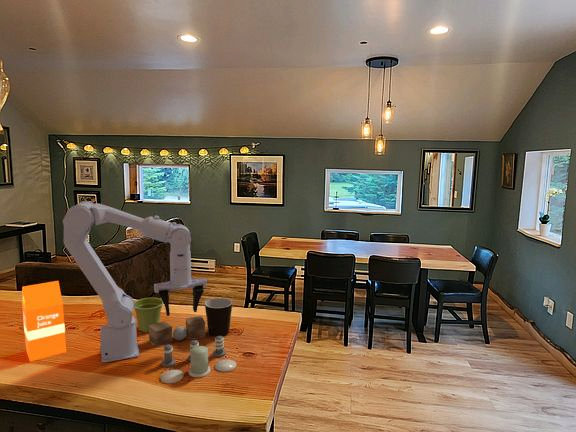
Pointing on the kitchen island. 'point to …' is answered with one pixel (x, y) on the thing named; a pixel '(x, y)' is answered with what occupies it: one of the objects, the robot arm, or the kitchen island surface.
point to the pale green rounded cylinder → (199, 360)
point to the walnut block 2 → (195, 327)
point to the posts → (168, 350)
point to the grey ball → (179, 333)
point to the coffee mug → (218, 316)
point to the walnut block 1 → (160, 333)
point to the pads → (177, 375)
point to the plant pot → (148, 312)
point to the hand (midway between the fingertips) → (181, 312)
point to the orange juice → (43, 320)
